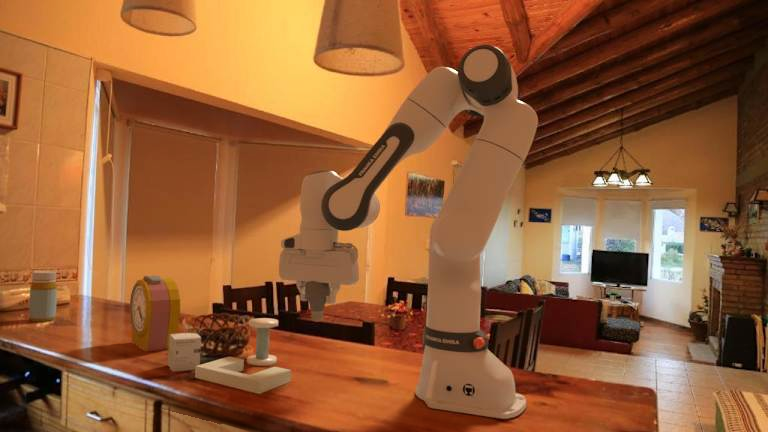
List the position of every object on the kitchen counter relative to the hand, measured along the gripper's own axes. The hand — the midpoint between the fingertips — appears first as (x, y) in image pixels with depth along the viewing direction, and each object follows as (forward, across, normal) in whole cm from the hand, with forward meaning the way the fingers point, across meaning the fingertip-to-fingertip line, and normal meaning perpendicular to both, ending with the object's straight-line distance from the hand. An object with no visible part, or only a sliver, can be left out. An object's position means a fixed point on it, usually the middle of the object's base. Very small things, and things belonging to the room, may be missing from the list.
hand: (317, 302), depth 122 cm
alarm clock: (+15, +49, +5) cm, 52 cm away
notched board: (+16, +10, +13) cm, 23 cm away
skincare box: (+16, +27, +14) cm, 34 cm away
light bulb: (+5, 0, 0) cm, 5 cm away
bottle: (+14, +99, +5) cm, 100 cm away
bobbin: (+16, +16, 0) cm, 23 cm away
